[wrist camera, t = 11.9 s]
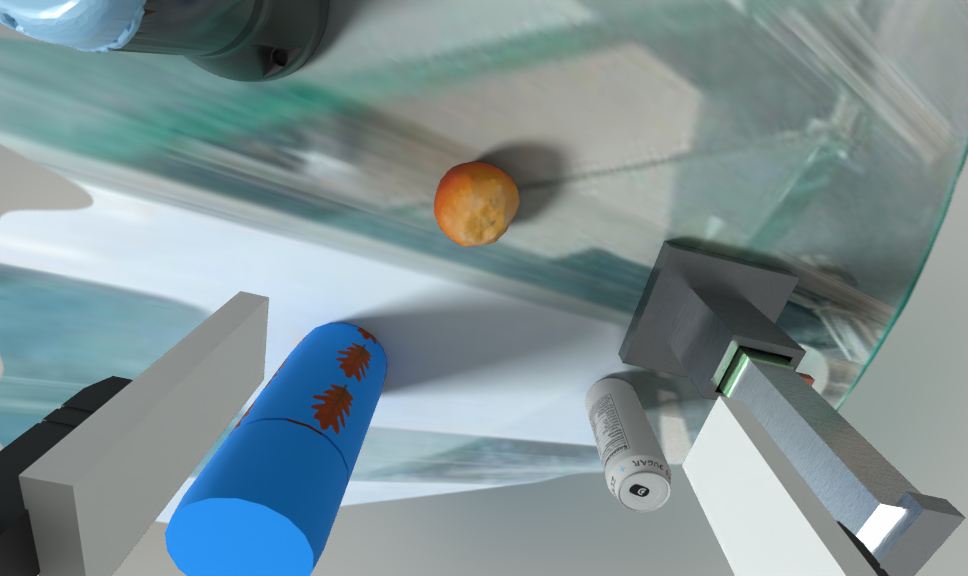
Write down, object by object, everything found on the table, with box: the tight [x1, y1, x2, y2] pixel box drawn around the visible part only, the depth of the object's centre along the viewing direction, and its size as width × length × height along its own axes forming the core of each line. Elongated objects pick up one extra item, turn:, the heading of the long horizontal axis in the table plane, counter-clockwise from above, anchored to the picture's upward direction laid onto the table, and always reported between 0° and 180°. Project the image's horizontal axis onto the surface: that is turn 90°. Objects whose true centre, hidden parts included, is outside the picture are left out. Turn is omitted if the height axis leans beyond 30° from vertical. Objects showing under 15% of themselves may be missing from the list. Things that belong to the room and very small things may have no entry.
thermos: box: [165, 323, 387, 576], centre depth 45 cm, size 11×11×25 cm
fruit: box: [434, 161, 520, 247], centre depth 46 cm, size 8×8×8 cm
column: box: [719, 345, 965, 576], centre depth 36 cm, size 6×4×21 cm, turn 167°
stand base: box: [619, 241, 815, 400], centre depth 47 cm, size 14×14×13 cm
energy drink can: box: [585, 378, 671, 512], centre depth 51 cm, size 6×6×15 cm
